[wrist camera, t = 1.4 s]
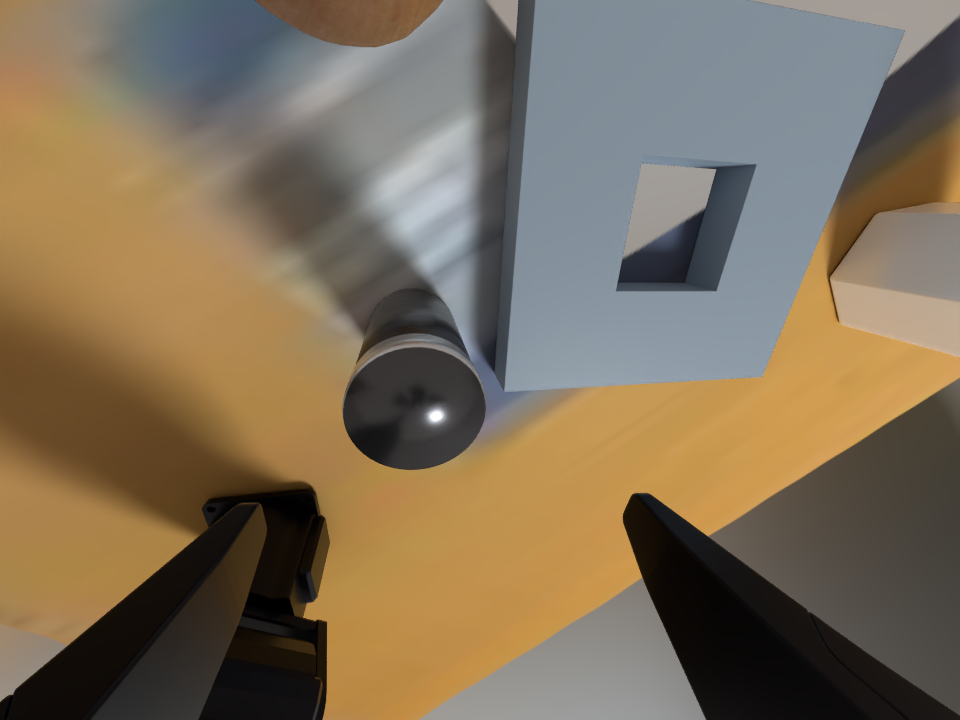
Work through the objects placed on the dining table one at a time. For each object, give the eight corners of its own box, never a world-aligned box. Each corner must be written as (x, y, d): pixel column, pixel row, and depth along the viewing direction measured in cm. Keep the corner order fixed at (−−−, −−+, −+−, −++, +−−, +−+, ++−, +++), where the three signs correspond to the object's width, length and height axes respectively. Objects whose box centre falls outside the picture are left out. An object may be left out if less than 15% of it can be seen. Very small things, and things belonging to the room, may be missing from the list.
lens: (372, 370, 20) (350, 477, 12) (364, 287, 18) (332, 350, 10) (454, 366, 21) (483, 464, 13) (455, 287, 19) (490, 345, 11)
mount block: (494, 372, 22) (504, 391, 20) (518, -4, 15) (538, -41, 13) (730, 361, 25) (762, 376, 23) (843, 52, 18) (905, 30, 16)
